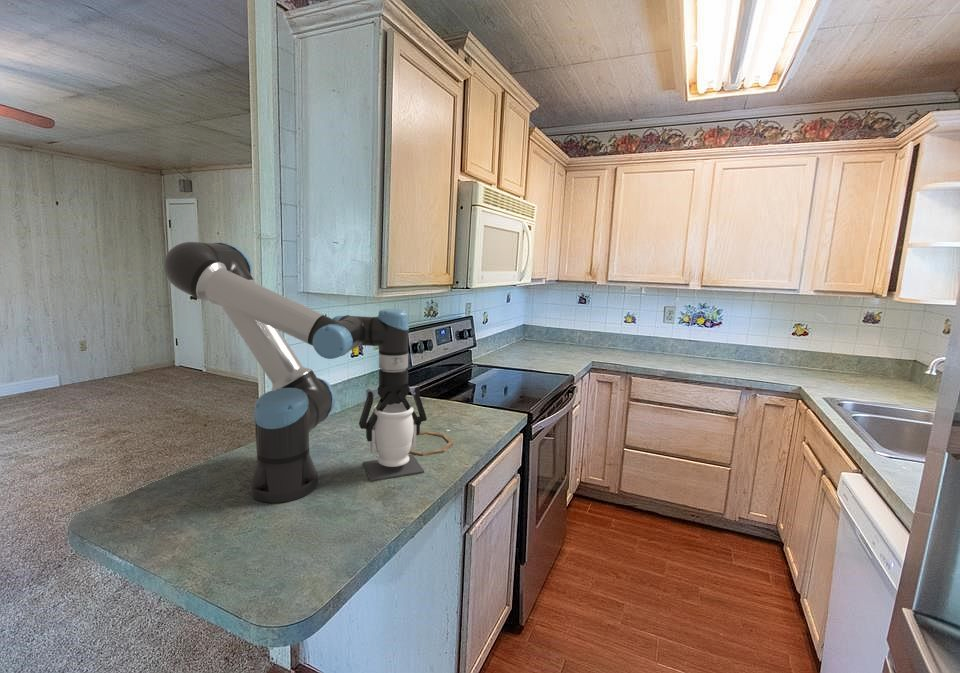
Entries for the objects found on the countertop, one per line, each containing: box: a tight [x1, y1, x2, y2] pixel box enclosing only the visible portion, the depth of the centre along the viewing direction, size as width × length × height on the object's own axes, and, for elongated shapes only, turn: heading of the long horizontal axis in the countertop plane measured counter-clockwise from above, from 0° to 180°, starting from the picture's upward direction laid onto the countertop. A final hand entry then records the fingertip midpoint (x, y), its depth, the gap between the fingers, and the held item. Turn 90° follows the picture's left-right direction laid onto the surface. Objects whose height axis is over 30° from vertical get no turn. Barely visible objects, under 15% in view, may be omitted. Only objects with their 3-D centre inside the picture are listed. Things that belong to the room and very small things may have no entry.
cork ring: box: [408, 430, 454, 456], centre depth 140 cm, size 16×16×1 cm
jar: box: [372, 402, 415, 467], centre depth 121 cm, size 11×10×15 cm
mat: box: [362, 453, 425, 482], centre depth 123 cm, size 14×11×1 cm
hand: (393, 448), depth 122 cm, fingers closed on jar, 10 cm apart
